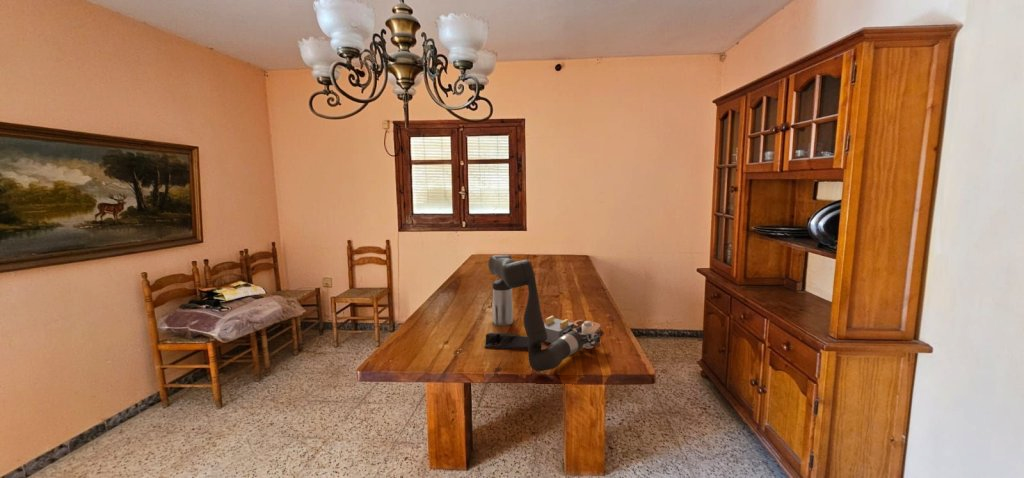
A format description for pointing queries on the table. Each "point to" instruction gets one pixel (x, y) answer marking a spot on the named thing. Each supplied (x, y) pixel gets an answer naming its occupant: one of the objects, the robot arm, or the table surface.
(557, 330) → the block
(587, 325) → the white bottle
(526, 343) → the dark slate chunk
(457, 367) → the table surface
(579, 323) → the bracket
